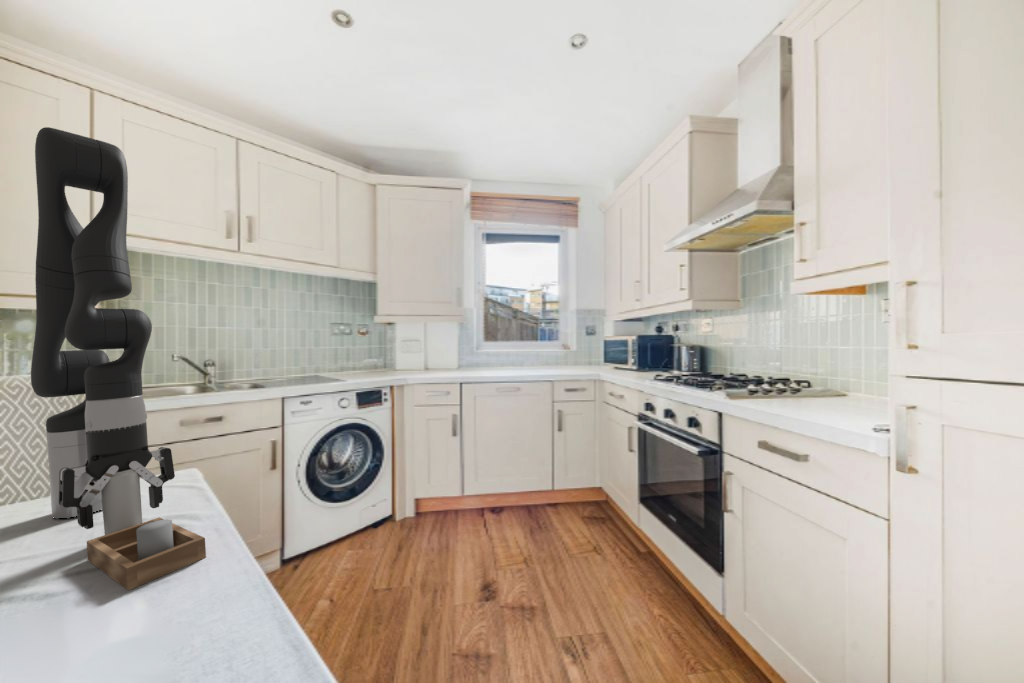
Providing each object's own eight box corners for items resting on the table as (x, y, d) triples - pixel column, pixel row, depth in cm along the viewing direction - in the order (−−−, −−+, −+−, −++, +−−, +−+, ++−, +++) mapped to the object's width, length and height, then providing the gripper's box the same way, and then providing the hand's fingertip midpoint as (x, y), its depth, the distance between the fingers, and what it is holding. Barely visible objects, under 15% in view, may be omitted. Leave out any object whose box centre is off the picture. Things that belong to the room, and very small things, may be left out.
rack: (87, 560, 63) (86, 541, 63) (160, 534, 71) (159, 517, 71) (128, 590, 54) (126, 568, 54) (206, 557, 62) (204, 537, 62)
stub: (134, 568, 60) (131, 528, 60) (167, 555, 63) (165, 517, 63) (145, 575, 58) (142, 534, 58) (179, 561, 61) (176, 522, 61)
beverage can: (119, 546, 67) (114, 474, 67) (96, 544, 68) (92, 474, 68) (150, 532, 72) (146, 465, 72) (129, 530, 73) (124, 464, 73)
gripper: (159, 414, 78) (165, 498, 78) (49, 431, 65) (56, 530, 66) (176, 416, 74) (182, 504, 74) (62, 435, 62) (69, 540, 62)
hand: (123, 516), depth 70 cm, fingers open, 8 cm apart
